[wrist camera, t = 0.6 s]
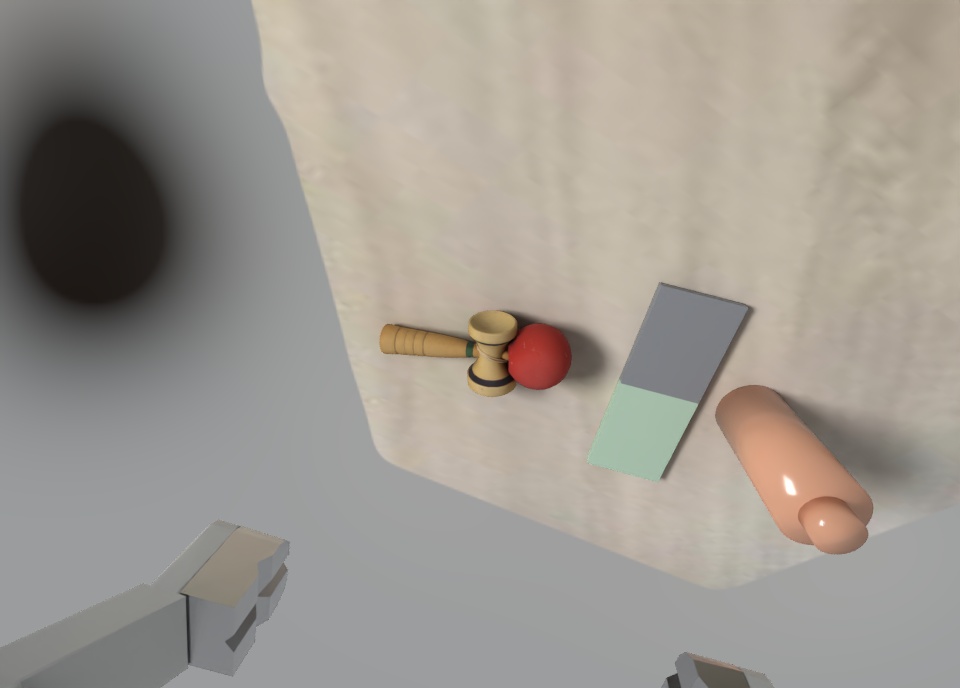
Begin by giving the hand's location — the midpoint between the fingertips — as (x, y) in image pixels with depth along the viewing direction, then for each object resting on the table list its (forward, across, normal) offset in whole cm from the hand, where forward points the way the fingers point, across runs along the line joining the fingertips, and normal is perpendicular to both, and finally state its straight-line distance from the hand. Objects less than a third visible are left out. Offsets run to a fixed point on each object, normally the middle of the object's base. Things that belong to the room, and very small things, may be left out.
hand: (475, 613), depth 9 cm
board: (+34, -15, +8) cm, 38 cm away
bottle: (+34, -24, +8) cm, 43 cm away
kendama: (+35, +3, +7) cm, 36 cm away
